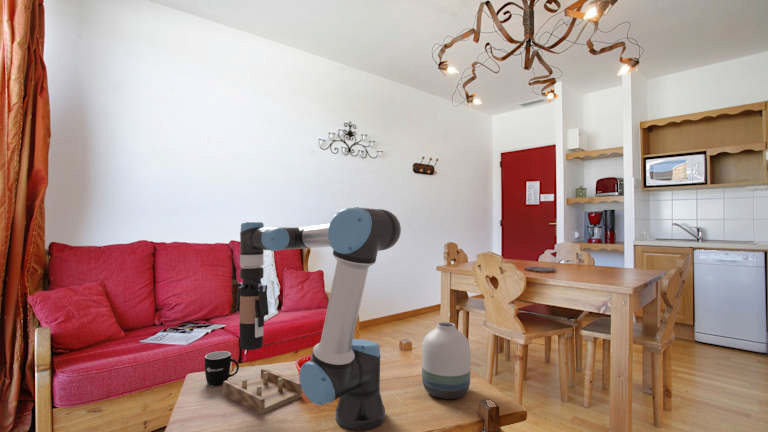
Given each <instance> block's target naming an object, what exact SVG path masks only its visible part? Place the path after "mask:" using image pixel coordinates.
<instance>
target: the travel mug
mask: <svg viewBox="0 0 768 432" xmlns="http://www.w3.org/2000/svg"><path fill="white" fill-rule="evenodd" d="M258 293H259V291H258V289H243V287H242V288H240V314H239V349H241V350H243V351H254V350H258V349H260V348H263V344H264V343H263V341H264V340H263V339H264V335H263V336H261V337H257V338H256V337H255V316H257V314H256V310H255V299H256V300H259V294H258Z"/></svg>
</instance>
